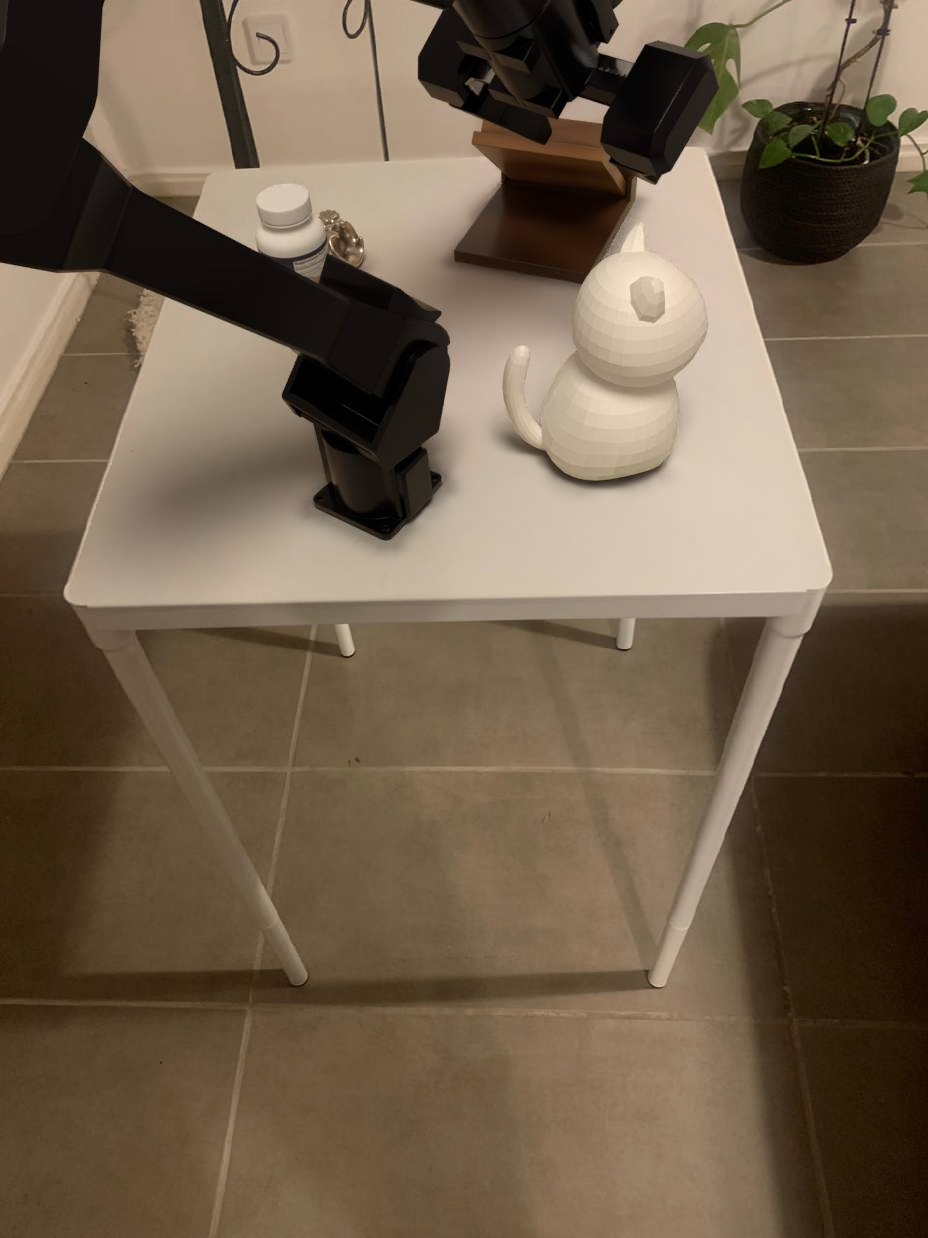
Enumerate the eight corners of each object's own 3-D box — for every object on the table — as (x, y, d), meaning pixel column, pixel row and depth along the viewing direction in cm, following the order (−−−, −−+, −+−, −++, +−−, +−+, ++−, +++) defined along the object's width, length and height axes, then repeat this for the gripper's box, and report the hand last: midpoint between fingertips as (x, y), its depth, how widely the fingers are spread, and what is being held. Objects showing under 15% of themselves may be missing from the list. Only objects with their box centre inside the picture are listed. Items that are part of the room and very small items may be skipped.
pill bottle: (262, 309, 77) (232, 195, 70) (317, 284, 79) (294, 170, 72) (296, 339, 75) (269, 223, 67) (352, 312, 76) (332, 196, 69)
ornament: (379, 240, 83) (373, 200, 80) (350, 284, 79) (343, 243, 76) (297, 230, 85) (288, 191, 82) (265, 272, 81) (255, 232, 78)
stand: (589, 285, 77) (593, 215, 72) (452, 260, 80) (448, 192, 76) (636, 199, 85) (642, 132, 80) (510, 181, 88) (509, 114, 83)
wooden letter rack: (602, 161, 73) (610, 122, 72) (470, 143, 76) (477, 105, 75) (625, 195, 83) (633, 162, 82) (509, 178, 86) (515, 145, 85)
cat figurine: (698, 491, 62) (738, 289, 50) (510, 506, 62) (505, 308, 50) (672, 403, 67) (703, 203, 56) (499, 417, 67) (493, 220, 56)
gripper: (748, -134, 44) (791, 81, 58) (454, -184, 52) (553, 15, 66) (623, 86, 45) (694, 243, 59) (356, 3, 53) (473, 159, 67)
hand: (600, 157), depth 63 cm, fingers open, 9 cm apart
